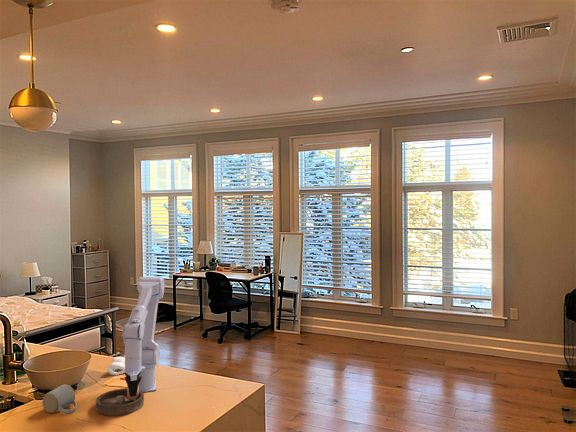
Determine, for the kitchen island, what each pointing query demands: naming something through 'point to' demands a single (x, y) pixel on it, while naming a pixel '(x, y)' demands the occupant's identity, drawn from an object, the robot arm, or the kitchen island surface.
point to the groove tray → (112, 402)
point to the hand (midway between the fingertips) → (132, 393)
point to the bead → (132, 396)
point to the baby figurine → (117, 366)
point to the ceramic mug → (59, 399)
